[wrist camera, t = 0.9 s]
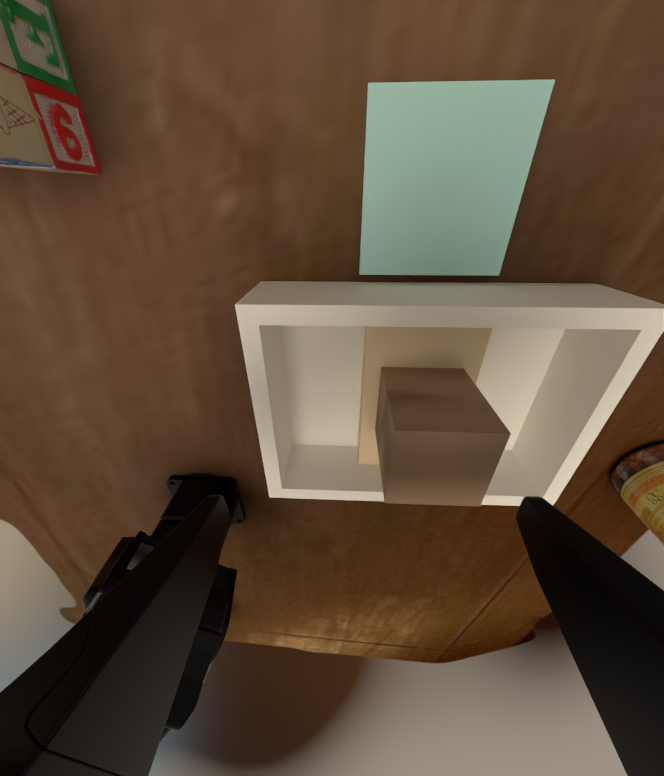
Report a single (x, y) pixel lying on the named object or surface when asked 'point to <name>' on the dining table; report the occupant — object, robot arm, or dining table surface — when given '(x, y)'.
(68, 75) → the stack of blocks
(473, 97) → the teal pad
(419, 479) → the walnut block
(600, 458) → the dining table surface
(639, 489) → the sauce bottle
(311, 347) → the crate
